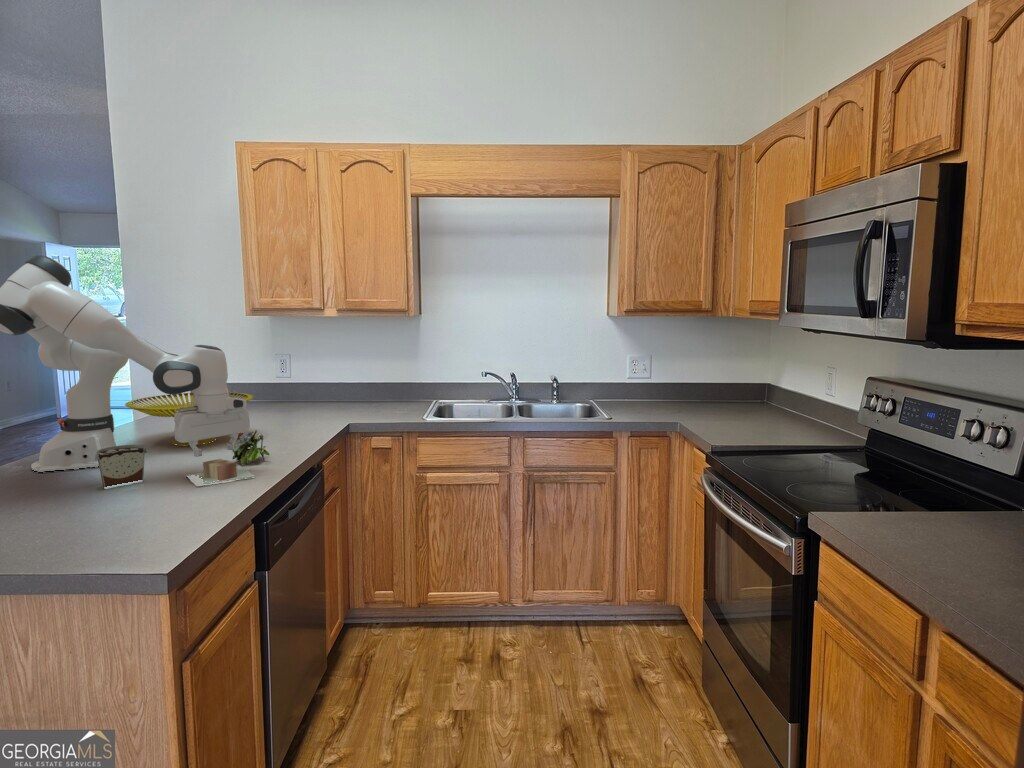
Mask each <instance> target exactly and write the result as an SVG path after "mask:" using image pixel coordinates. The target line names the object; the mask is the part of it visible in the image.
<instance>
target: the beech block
mask: <svg viewBox="0 0 1024 768" xmlns="http://www.w3.org/2000/svg"><path fill="white" fill-rule="evenodd" d="M236 468H237V462H235V461H231V460H227V459H223V458H217V459H212V460H208V461H203V462H202V469H203V472H202V473H204V477H208V478H212V479H215V480H219V481H221V480H226V479H230V478H234V477H237V469H236Z"/></svg>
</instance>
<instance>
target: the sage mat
mask: <svg viewBox="0 0 1024 768" xmlns="http://www.w3.org/2000/svg"><path fill="white" fill-rule="evenodd" d="M236 469H237V477H234V478H230V479H226V480H221V481H217V480H215V479H212V478H208V477H204V473H203V472H197V473H190V474H185V477H186V476H188V475H190V476H191V475H192V474H193V475H195V476H197V475H199V478H201V477H202V478H201V479H203V482H204V483H203V484H210V483H211V482H212V483H215V482H222V481H229V480H236V479H245V478H252V477H255V478H256V476H255V475H254V474H253V473H251V472H250V471H248V470H247V469H246V468H245V467H244V466H238V467H237V466H236ZM205 481H207V482H205ZM213 481H215V482H213ZM209 482H210V483H209Z"/></svg>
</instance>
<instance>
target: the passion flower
mask: <svg viewBox="0 0 1024 768" xmlns="http://www.w3.org/2000/svg"><path fill="white" fill-rule="evenodd" d="M256 434H257V429H255V430H254V431H252V432H251V431H250V432H248V434H246V435H245V436H243V435H244V432H242V433H238V438H237V440H238V441H237V443H235V445H234V446H235V449H234V450H232V451H230V452H231V453H233V455H232V458H231V459H232V460H236V461H237V460H239V461H240V465H242V464H243V465H244V466H245V463H247V464H250V463H251V462H252V461H254V462H255V461H257V460H258V459H259V458H260V456H262V460H263V461H265V456H270V452H268V451H267V450H266V448H267V446H266V445H263V441H264V436H263V434H262V433H259V434H258V435H257V437H256ZM242 436H243V438H241V437H242ZM260 440H261V445H260V447H258V443H259V442H260ZM264 455H265V456H264ZM240 459H241V460H240ZM243 465H242V466H243Z"/></svg>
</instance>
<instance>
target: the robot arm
mask: <svg viewBox="0 0 1024 768" xmlns="http://www.w3.org/2000/svg"><path fill="white" fill-rule="evenodd" d="M71 282H72V276H71V273H70V271H69V270H68V269H67V268H66V267H65V266H64V265H63V264H62V263H61V262H59V261H58V260H56V259H54V258H51V257H48V256H46V255H34V256H33V257H30V258H29V259H28V260H26V261H25V264H23V265H22V266H21V267H19V268H18V269H17V270H16V271H14V272H13V273H12V274H11V275H10V276H9V277H8V278H7V279H6V281H5V282H4V283H3V284H1V286H0V332H1V333H4V334H8V335H11V336H19V335H24V334H26V333H27V334H28V335H29V336H31V337H32V338H33V339H34V340H36V342H38V344H39V346H38V348H37V355H38V358H39V360H40V363H42V365H43V366H45V367H46V368H50V369H53V370H59V371H63V372H68V371H69V372H70V371H71V372H72V371H73V372H80V375H79V378H78V382H76V384H74V385H72V386H71V387H70V388H69V389H68V390H67V391H66V393H65V399H66V409H67V410H66V412H67V417H65V418H63V417H61V418H58V419H57V424H58V426H59V427H60V431H59V432H58V433H57V434H56V435H54V436H53V437H51V438H50V439H49V440H48V441H46V442H45V443H44V444H43V445H42V446H41V448H40V451H39V457H38V459H39V460H36V461H34V462H33V463H31V465H30V469H31V468H32V470H34V471H38V472H43V471H54V470H64V471H66V470H65V469H74V470H80V469H79V468H85V469H87V468H86V467H95V468H98V467H97V466H99V463H98V458H97V461H95V455H96V453H97V451H98V450H100V449H104V448H108V447H113V446H117V444H116V441H115V434H114V432H115V421H114V416H113V414H112V411H111V389H112V384H113V382H114V379H115V377H116V375H117V374H118V372H119V371H120V370H121V369H122V368H123V367H125V366H126V364H127V363H128V361H129V360H131V361H133V362H134V363H136V364H138V365H140V366H142V367H143V368H145V369H147V370H149V371H150V372H151V373H152V380H153V385H154V386H155V387H156V389H157V390H159V391H160V392H162V393H164V394H165V395H169V394H171V396H173V395H176V394H177V395H178V394H181V393H189V392H192V393H193V402H194V406H192V407H187V408H180V409H179V410H177V411H176V412H175V414H174V417H173V418H174V420H173V421H174V429H173V430H174V432H173V433H174V439H175V440H177V441H178V442H181V443H186V442H189V445H190V446H189V447H190V448H191V449H192V450H193V457H196V458H197V457H198V458H199V457H202V456H203V449H201V448H199V447H198V445H197V444H198V440H203V439H208V438H219V437H223V436H224V437H225V436H229V437H230V439H229V441H228V442H227V443H225V445H226V447H225V449H226V450H227V451H233V450H234V449H235V446H236V445H235V444H236V441H237V440H238V439H237V438H238V435H239V433H246V432H248V431H249V430H250V428H251V426H250V425H251V424H250V422H251V421H250V416H249V411H248V410H247V409H248V408H246V407H247V402H246V400H244V399H243V398H242V399H240V398H239V399H238V397H237V398H235V397H232V396H229V395H230V394H229V392H230V391H229V388H228V386H227V385H228V383H227V382H228V376H229V374H228V365H227V364H228V363H227V359H226V355H225V352H224V351H223V350H222V349H221V348H219V347H217V346H213V345H206V344H196V345H193V347H191V348H190V349H188V350H187V351H185V352H182V353H180V354H175V353H170V352H167V351H164V350H162V349H161V348H159V347H157V346H155V345H154V344H152V343H150V342H148V341H147V340H146V339H144V338H142V337H141V336H139V335H137V334H136V333H134V332H133V331H132V330H131V329H129V328H128V327H127V326H126V325H125V324H123V322H121V321H120V319H118V318H117V317H116V316H115V315H114V314H113V313H112V312H110V311H109V310H107V309H106V308H105V307H104V306H103V305H101V304H99V303H98V302H97V301H95V300H93V299H92V298H90V297H88V296H87V295H86V294H83V293H82V292H80V291H78V290H76V289H73V288H72V287H69V286H70V284H71ZM179 411H180V412H179ZM196 445H197V446H196ZM32 470H31V471H32ZM34 471H33V472H34ZM38 472H37V473H38ZM54 472H55V471H54ZM43 473H44V472H43Z"/></svg>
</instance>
